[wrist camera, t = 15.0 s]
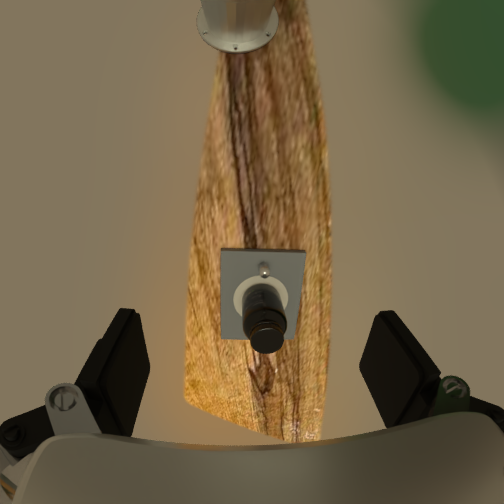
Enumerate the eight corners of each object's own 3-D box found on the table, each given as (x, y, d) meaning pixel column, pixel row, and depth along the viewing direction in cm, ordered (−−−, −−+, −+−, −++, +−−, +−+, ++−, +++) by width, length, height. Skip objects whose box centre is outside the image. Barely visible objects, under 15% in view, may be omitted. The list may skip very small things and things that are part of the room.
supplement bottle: (288, 300, 51) (301, 342, 40) (258, 321, 52) (263, 366, 41) (263, 274, 49) (271, 314, 37) (233, 297, 50) (232, 341, 39)
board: (221, 248, 48) (220, 258, 44) (304, 250, 49) (310, 260, 45) (221, 335, 54) (220, 349, 51) (292, 335, 55) (296, 348, 51)
